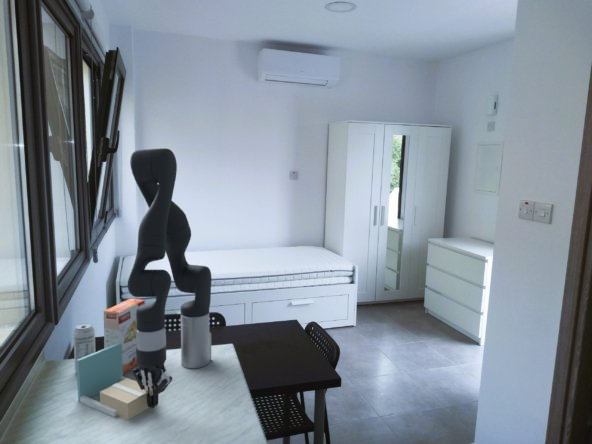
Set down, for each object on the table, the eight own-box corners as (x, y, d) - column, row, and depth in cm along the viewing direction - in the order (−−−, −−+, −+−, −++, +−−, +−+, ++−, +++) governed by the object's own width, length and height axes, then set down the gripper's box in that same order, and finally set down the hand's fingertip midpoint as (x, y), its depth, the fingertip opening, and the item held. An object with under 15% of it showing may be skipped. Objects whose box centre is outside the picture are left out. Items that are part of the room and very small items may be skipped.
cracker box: (121, 377, 134) (119, 312, 131) (104, 375, 135) (101, 310, 132) (146, 358, 147) (145, 299, 145) (131, 356, 149) (129, 297, 146)
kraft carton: (128, 394, 125) (127, 377, 124) (155, 405, 119) (154, 387, 119) (100, 409, 117) (99, 391, 116) (128, 421, 112) (127, 402, 111)
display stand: (120, 380, 132) (119, 342, 131) (155, 393, 125) (154, 353, 123) (78, 401, 120) (76, 359, 118) (114, 417, 113) (112, 373, 111)
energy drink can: (97, 366, 141) (96, 321, 139) (94, 374, 135) (92, 328, 133) (77, 368, 139) (75, 323, 137) (73, 376, 133) (71, 330, 132)
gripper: (180, 344, 114) (181, 406, 116) (144, 334, 120) (146, 393, 122) (158, 355, 107) (160, 420, 109) (122, 343, 113) (124, 405, 115)
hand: (152, 406), depth 116 cm, fingers closed
